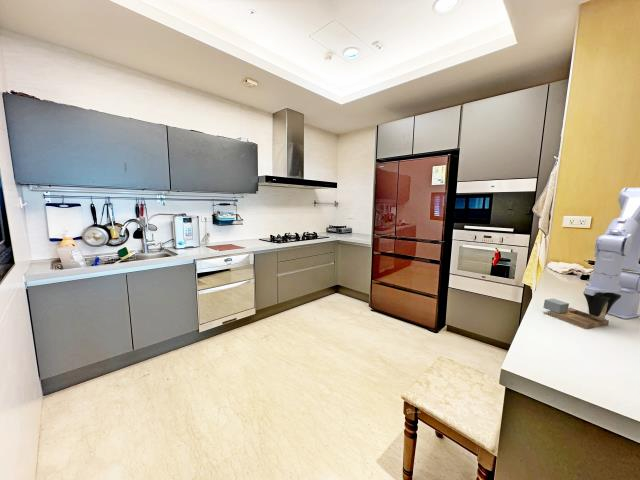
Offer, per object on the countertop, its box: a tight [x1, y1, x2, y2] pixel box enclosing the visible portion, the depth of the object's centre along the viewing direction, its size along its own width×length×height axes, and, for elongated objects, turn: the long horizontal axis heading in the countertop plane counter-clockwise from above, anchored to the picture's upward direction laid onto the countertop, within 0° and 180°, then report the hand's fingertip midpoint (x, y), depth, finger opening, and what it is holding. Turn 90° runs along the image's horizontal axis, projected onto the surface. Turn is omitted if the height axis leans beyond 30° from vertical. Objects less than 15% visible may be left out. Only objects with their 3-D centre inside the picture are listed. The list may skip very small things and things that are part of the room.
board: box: [548, 307, 610, 330], centre depth 84 cm, size 11×10×2 cm
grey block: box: [543, 298, 570, 313], centre depth 87 cm, size 4×4×3 cm
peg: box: [590, 301, 608, 321], centre depth 81 cm, size 3×3×6 cm
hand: (597, 314), depth 82 cm, fingers closed on peg, 3 cm apart
